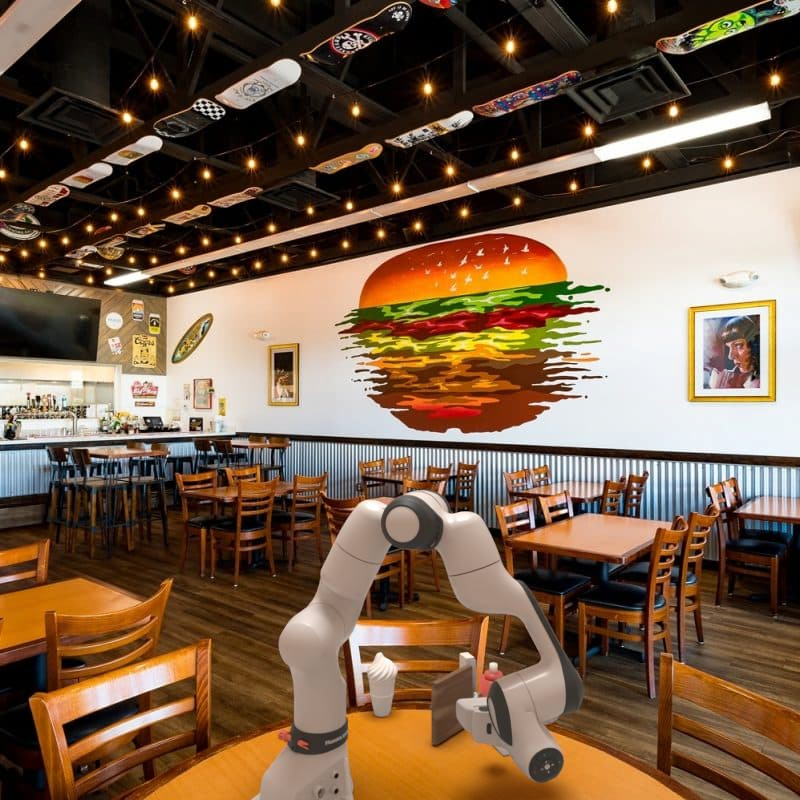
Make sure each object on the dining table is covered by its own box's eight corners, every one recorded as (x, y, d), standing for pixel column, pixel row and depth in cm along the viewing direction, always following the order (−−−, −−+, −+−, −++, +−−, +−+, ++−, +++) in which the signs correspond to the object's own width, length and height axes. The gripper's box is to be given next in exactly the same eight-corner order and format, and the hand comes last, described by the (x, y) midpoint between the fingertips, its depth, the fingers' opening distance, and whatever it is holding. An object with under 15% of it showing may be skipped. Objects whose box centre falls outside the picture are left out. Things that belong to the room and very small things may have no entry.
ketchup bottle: (497, 742, 133) (498, 671, 133) (474, 733, 136) (475, 664, 137) (511, 731, 137) (511, 663, 138) (488, 723, 141) (488, 656, 142)
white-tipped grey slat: (502, 756, 142) (502, 687, 142) (459, 713, 163) (459, 653, 163) (511, 754, 142) (511, 685, 143) (467, 712, 163) (467, 652, 164)
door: (426, 740, 148) (426, 680, 148) (463, 718, 159) (462, 662, 159) (436, 745, 146) (436, 684, 146) (472, 722, 157) (472, 665, 157)
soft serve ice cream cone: (403, 711, 164) (403, 651, 165) (386, 724, 157) (386, 661, 158) (377, 703, 169) (377, 645, 169) (360, 715, 162) (360, 654, 162)
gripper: (561, 704, 126) (534, 677, 140) (467, 711, 123) (449, 682, 136) (561, 735, 126) (534, 705, 140) (467, 743, 122) (448, 711, 136)
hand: (491, 694), depth 138 cm, fingers closed on ketchup bottle, 6 cm apart
